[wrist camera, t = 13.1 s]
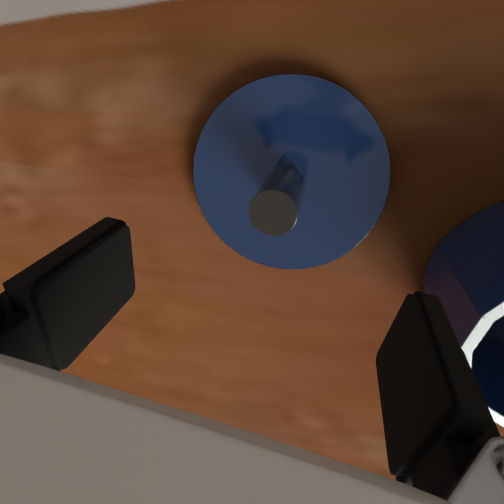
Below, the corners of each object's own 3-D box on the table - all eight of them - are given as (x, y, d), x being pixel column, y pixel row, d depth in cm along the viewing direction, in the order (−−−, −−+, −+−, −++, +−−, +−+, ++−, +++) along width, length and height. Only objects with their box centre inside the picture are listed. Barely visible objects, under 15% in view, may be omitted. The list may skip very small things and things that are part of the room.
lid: (202, 59, 21) (155, 52, 16) (422, 91, 20) (458, 98, 14) (195, 242, 29) (161, 282, 23) (353, 279, 27) (359, 333, 21)
